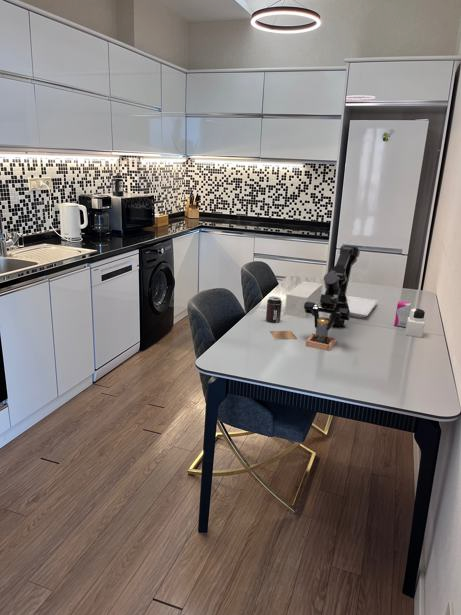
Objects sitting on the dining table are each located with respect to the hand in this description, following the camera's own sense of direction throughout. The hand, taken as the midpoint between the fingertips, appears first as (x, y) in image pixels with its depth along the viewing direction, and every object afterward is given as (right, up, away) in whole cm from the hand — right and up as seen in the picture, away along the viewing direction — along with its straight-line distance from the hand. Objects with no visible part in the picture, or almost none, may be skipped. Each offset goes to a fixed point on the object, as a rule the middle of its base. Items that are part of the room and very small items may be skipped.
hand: (321, 328), depth 189 cm
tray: (+30, +7, +56) cm, 64 cm away
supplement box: (+45, 0, +35) cm, 58 cm away
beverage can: (-17, +1, +30) cm, 35 cm away
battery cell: (0, -6, +3) cm, 6 cm away
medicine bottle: (+47, -4, +24) cm, 53 cm away
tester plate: (-14, -4, +12) cm, 19 cm away
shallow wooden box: (0, -8, +4) cm, 8 cm away
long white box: (+1, +8, +54) cm, 55 cm away
